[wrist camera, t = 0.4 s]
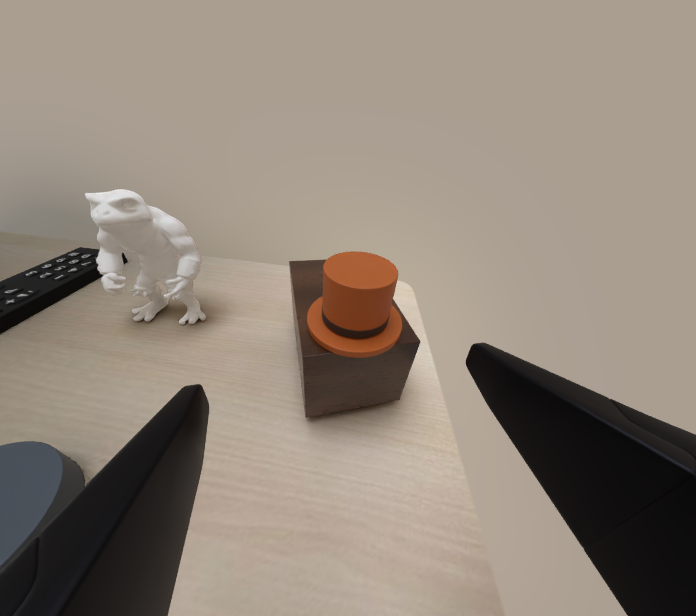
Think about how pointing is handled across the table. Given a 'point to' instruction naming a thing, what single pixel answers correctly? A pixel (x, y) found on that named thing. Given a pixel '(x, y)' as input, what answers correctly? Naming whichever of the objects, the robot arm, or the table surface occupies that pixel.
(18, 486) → the stand
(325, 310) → the orange top hat
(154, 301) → the figurine
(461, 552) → the table surface
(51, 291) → the remote control
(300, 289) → the brown lidded box
